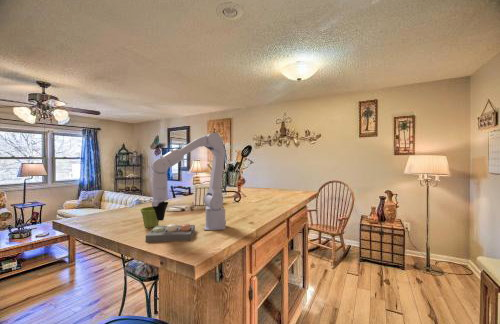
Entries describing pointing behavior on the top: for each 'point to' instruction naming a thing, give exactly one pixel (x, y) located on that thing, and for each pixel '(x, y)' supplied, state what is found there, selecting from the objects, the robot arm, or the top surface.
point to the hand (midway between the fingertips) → (160, 220)
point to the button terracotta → (184, 227)
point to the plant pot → (149, 217)
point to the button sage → (158, 229)
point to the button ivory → (172, 228)
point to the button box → (170, 235)
